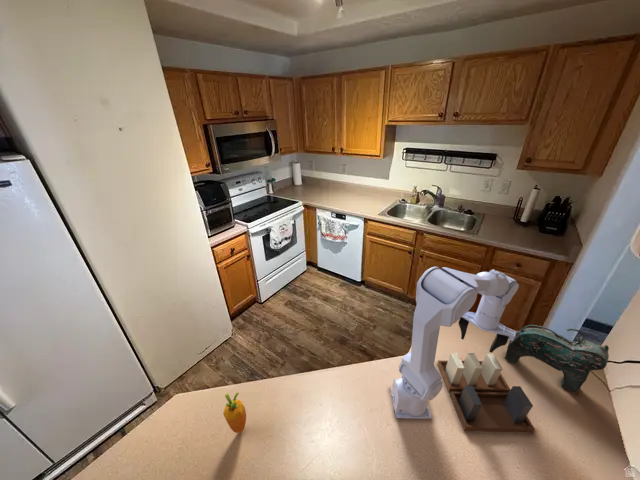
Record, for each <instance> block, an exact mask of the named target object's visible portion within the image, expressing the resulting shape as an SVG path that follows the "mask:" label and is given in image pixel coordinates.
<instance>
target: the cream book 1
mask: <svg viewBox="0 0 640 480" xmlns="http://www.w3.org/2000/svg"><path fill="white" fill-rule="evenodd" d="M447 361H448V362H447V365H446V368H445V371H446V373H447V375H448V378H449V380H450V382H451V385H458V384H459V381H460V379H461V376H462V374H463V371H464V369H465V368H464V366H463V364H462V362H461V361H462V360H461V358H460V355H459V353H458V352H450V353H449V356H448V359H447Z"/></svg>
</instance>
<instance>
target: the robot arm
mask: <svg viewBox="0 0 640 480" xmlns="http://www.w3.org/2000/svg"><path fill="white" fill-rule="evenodd" d="M519 287H520V284H519V283H517V280H516V279H514V278H512V277H510V276H509V275H506V273H503V272H500V271H499V270H495V269H493V268H492V269H491V270H490V271H481V272H478V273H476V274H474V273H470V272H465V271H461V270H457V269H453V268H450V267H446V266H444V267H441V268H440V267H439V266H432V267H430V268H428V269H426V270H425V271H424V272H423V273H422V274H421V276H420V277H419V279H418V281H417V282H416V289H415V291H416V293H415V302H416V306H415V310H414V313H413V320H412V333H411V334H412V335H411V348H410V351H409V352H407V353H406V354H404V355H403V356H402V357H401V361H400V363H399V365H398V372H399V374H401V377H399V378H394V379H393V380H392V385H391V388H390V395H391V401H392V405H393V409H394V414H395V415H394V416H395V418H397V419H414V420H415V419H418V420H419V419H420V420H431V419H432V414H431V410H430V407H429V402H430V401H432V400H434V399H435V398H436V397H437V396H438V395H439V394H440V392H441V391H442V389H443V381H442V375H441V373H440V371H438V369H437V367H436V366H435V361H436V356H437V355H436V354H437V348H438V341H439V335H440V329H441V327H446V328H447V327H448V328H450V327H452V326H453V325H454V324H456V323H457V322H458V326H459V329H460V333H461V337H460V338H461V340H464V339H465V337H466V334H467V330H468V326H469V324H472V325H473V326H474V327H476V328H478V329H479V330H481V331H484V332H487V333H492V334H496V335H495V338H494V339H493V340H492V343H491V345H490V347H489V353H493V352H494V351H495V350H496V349H498V348H500V347H502V346H505V345H507V344H508V342H509V341H510V340H511V341H513V340H514V338H515V335H516V332H517V331H515V330H513V329H511V328H509V327H507V326H505V325H504V324H502V323H500V321H501V318H502V316H503V313H504V311H505V309H506V307H507V305H508V304H510V302H511V301H512V299H513V297H514V296H515V294H516V293H517V291H518V290H519ZM478 294H479V295H481V298H480V301H479V304H478V307H477V309H476V312H473V311H470V310H471V308H472V307H473V306H474V305H475V303H476V301H477V297H478ZM508 340H509V341H508Z"/></svg>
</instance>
